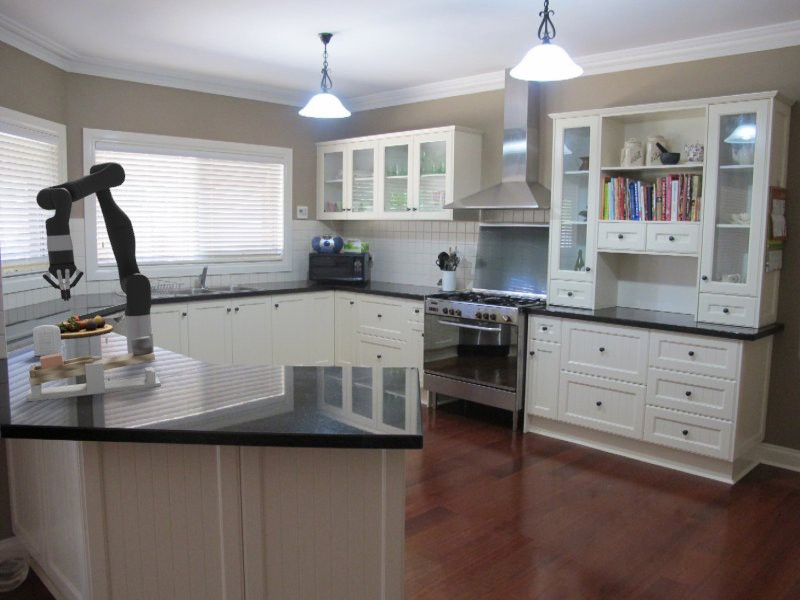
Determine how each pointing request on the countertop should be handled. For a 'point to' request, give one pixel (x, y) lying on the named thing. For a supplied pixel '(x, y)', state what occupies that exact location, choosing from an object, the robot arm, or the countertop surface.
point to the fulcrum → (94, 384)
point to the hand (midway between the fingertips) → (66, 300)
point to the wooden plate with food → (83, 327)
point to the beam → (77, 365)
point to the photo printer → (47, 340)
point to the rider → (51, 360)
